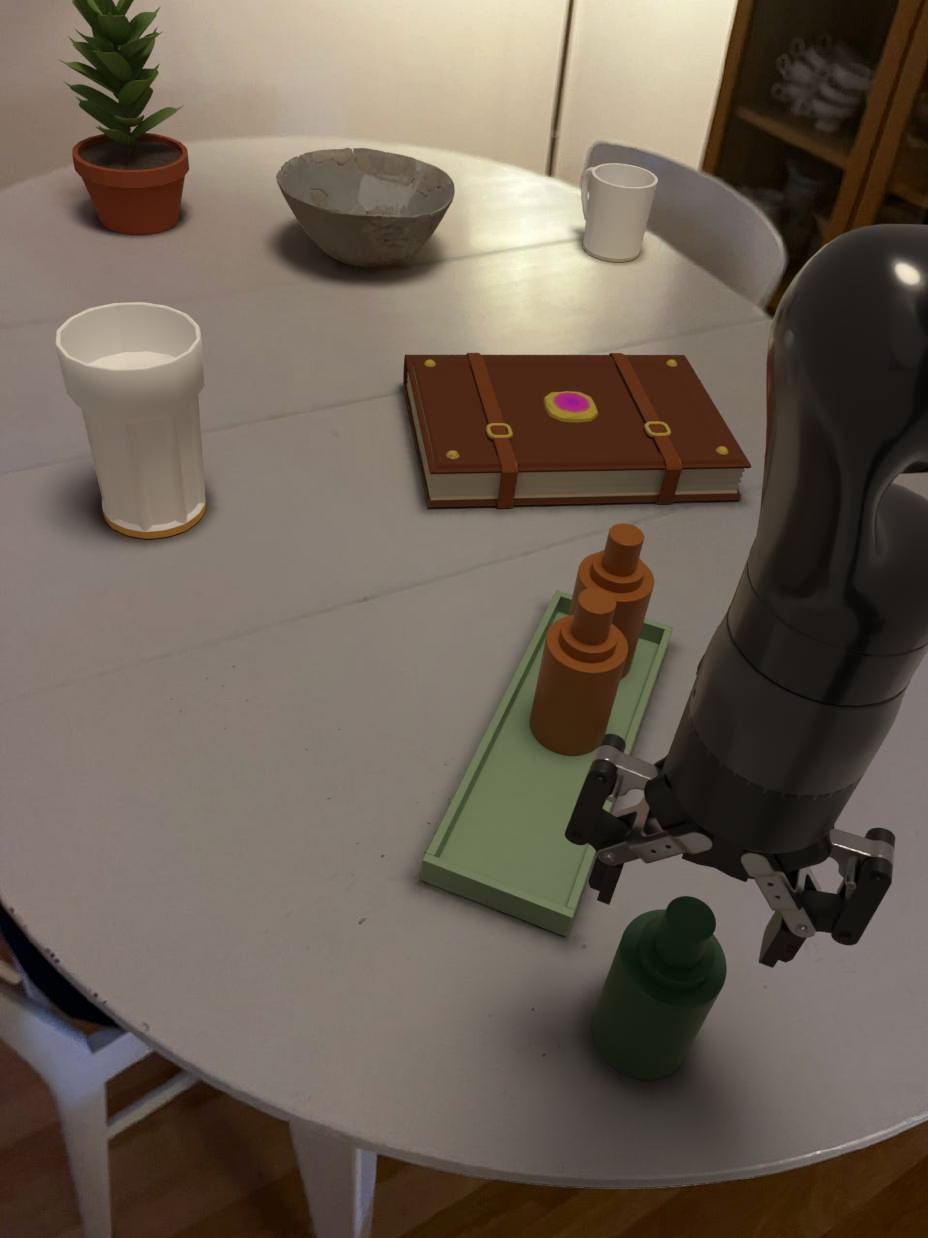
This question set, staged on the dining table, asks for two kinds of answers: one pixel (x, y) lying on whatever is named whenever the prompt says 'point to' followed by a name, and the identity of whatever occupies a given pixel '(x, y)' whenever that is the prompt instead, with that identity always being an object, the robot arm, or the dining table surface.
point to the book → (567, 430)
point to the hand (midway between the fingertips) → (686, 919)
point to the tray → (532, 796)
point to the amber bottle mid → (579, 676)
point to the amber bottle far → (620, 582)
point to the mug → (616, 210)
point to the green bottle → (659, 989)
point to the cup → (139, 412)
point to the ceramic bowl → (366, 203)
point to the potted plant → (125, 125)
